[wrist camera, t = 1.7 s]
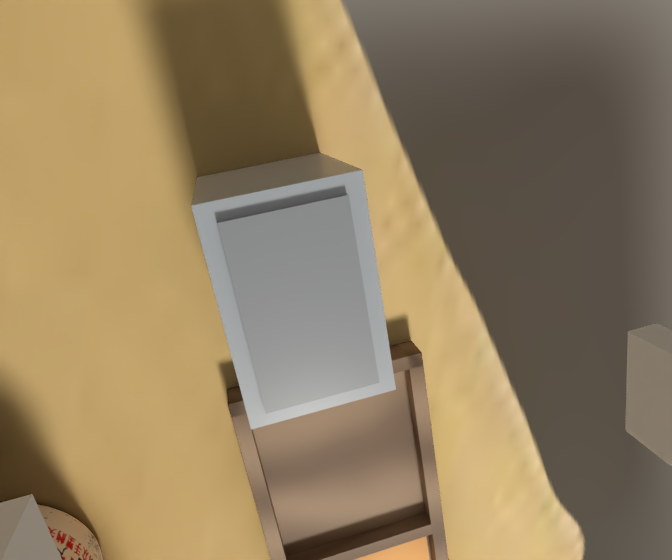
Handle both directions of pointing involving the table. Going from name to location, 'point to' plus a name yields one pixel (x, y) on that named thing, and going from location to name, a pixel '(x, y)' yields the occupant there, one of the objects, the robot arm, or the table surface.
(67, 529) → the teacup with lid
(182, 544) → the table surface
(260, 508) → the tray
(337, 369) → the grey paneled block
